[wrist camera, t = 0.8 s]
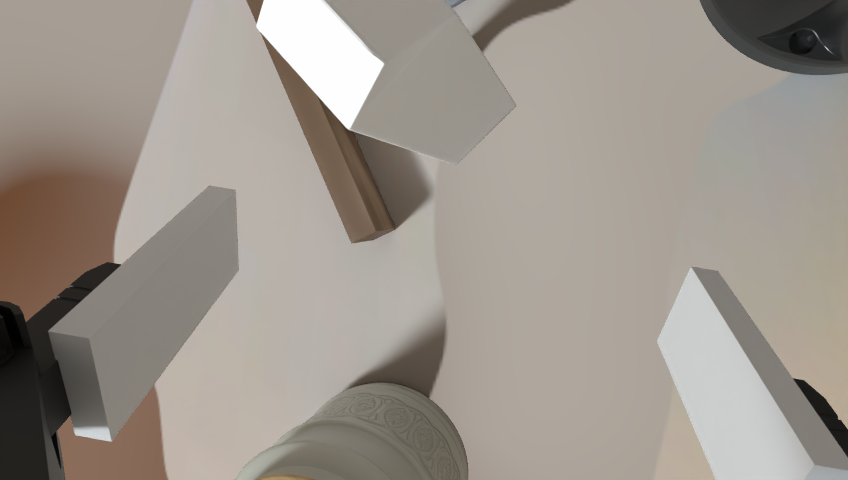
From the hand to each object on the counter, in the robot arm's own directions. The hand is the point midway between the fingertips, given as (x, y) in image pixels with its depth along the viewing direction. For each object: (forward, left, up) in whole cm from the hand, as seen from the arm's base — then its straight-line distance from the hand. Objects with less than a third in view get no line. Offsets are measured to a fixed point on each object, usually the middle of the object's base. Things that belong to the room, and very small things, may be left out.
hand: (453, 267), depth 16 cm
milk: (+1, -10, -23) cm, 26 cm away
